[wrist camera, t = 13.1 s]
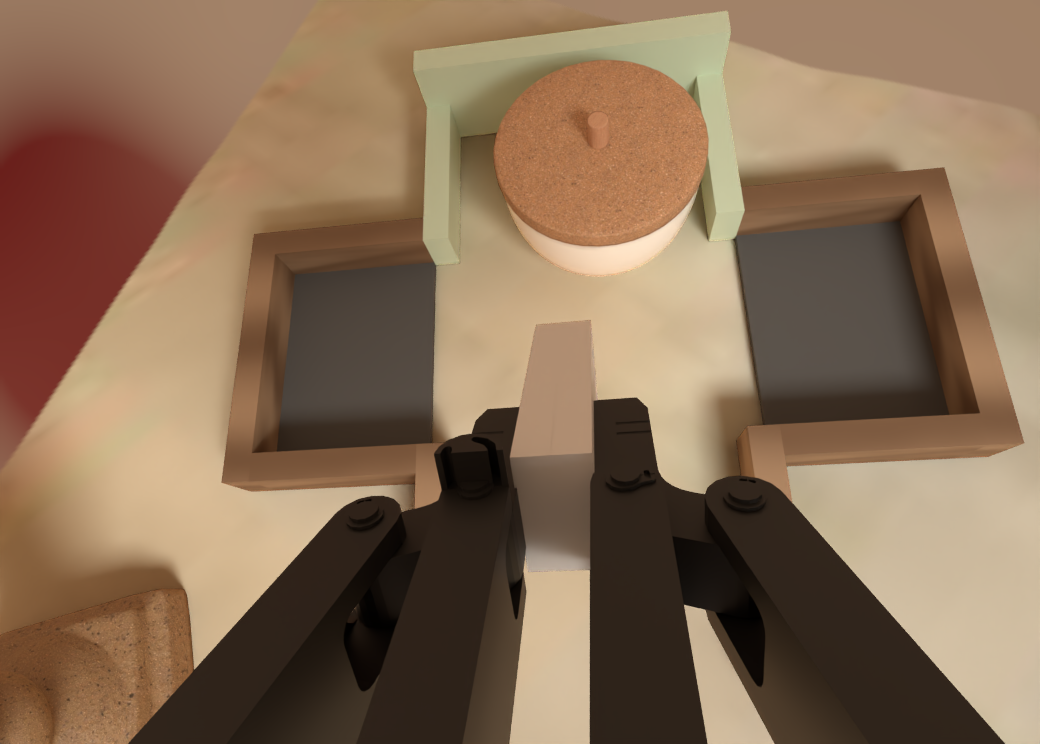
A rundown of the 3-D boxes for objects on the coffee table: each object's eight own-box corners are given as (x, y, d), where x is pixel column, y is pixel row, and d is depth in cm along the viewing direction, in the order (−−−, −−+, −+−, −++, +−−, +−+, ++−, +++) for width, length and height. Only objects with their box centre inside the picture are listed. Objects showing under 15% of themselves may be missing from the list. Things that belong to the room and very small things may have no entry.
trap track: (1057, 714, 28) (1167, 743, 23) (225, 718, 33) (145, 742, 27) (884, 70, 40) (928, -15, 35) (292, 138, 45) (246, 72, 39)
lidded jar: (479, 247, 40) (442, 149, 31) (582, 126, 42) (574, 2, 33) (622, 339, 37) (626, 258, 28) (726, 203, 39) (759, 88, 30)
